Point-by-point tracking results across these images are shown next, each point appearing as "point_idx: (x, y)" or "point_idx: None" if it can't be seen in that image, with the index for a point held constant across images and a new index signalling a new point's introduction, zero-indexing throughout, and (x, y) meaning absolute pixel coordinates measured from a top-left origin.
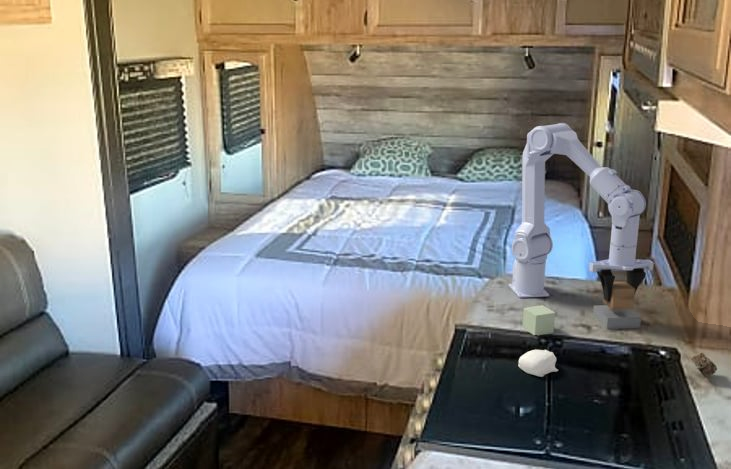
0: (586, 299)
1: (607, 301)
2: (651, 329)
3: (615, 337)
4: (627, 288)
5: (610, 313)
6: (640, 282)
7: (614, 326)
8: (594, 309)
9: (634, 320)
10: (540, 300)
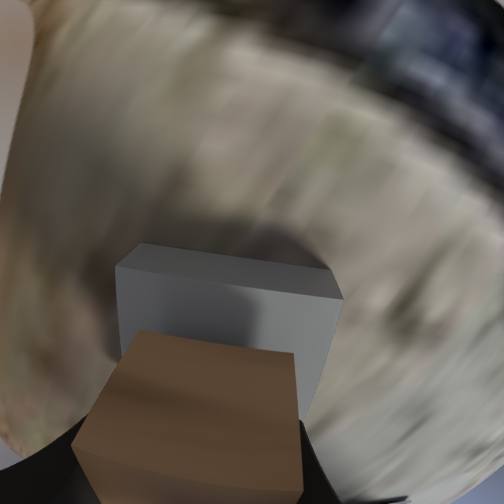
0: None
1: (302, 422)
2: (100, 204)
3: (356, 151)
4: (142, 475)
5: None
6: (7, 471)
7: (289, 268)
8: None
9: (162, 262)
10: (369, 495)
